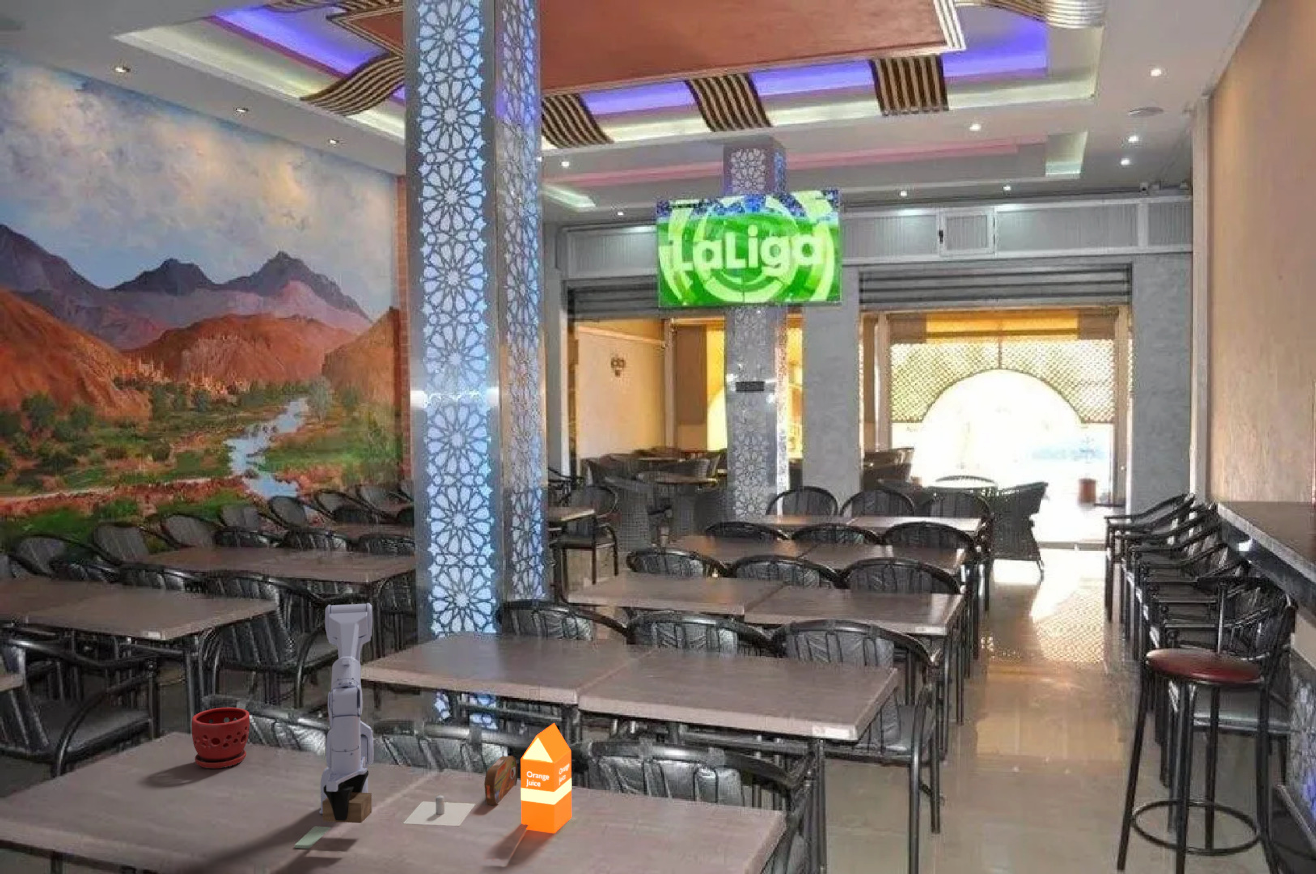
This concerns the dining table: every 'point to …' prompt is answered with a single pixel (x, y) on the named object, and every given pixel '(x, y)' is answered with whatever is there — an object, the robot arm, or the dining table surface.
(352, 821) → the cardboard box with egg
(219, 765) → the plant pot
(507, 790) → the tin
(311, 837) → the mat
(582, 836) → the dining table surface
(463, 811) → the stand
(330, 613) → the robot arm
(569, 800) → the orange juice
